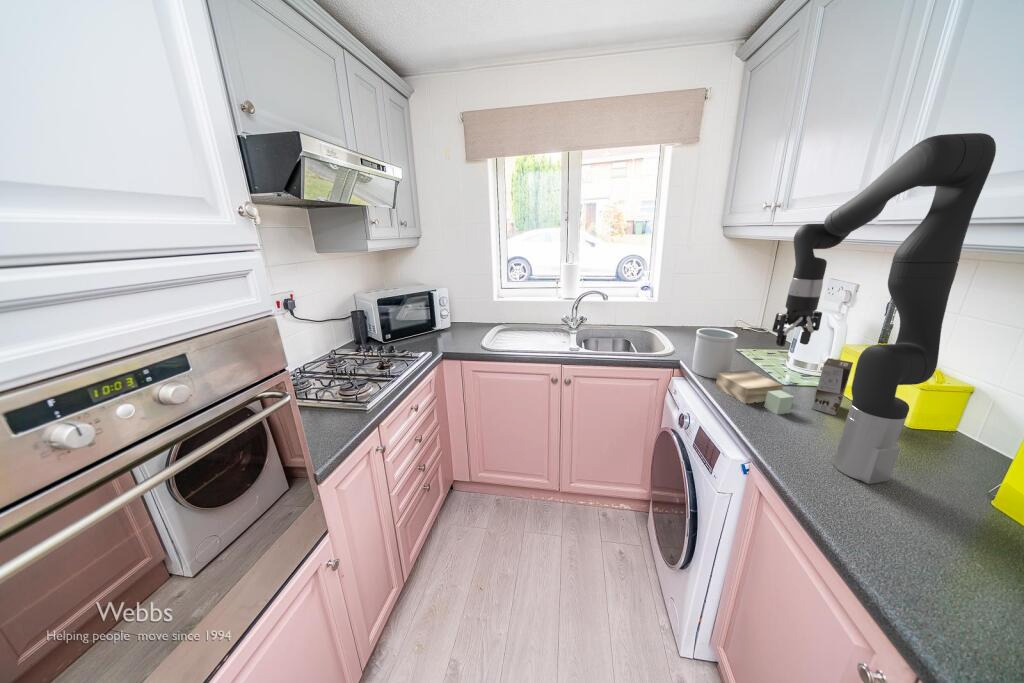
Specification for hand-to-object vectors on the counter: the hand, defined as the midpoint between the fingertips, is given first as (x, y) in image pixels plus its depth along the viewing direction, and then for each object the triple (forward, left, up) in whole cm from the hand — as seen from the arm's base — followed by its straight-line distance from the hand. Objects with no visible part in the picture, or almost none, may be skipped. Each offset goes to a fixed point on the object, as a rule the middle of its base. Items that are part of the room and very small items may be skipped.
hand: (792, 344), depth 110 cm
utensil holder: (+33, -1, -23) cm, 40 cm away
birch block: (+13, 0, -23) cm, 27 cm away
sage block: (0, 0, -23) cm, 23 cm away
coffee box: (-2, -17, -23) cm, 29 cm away
